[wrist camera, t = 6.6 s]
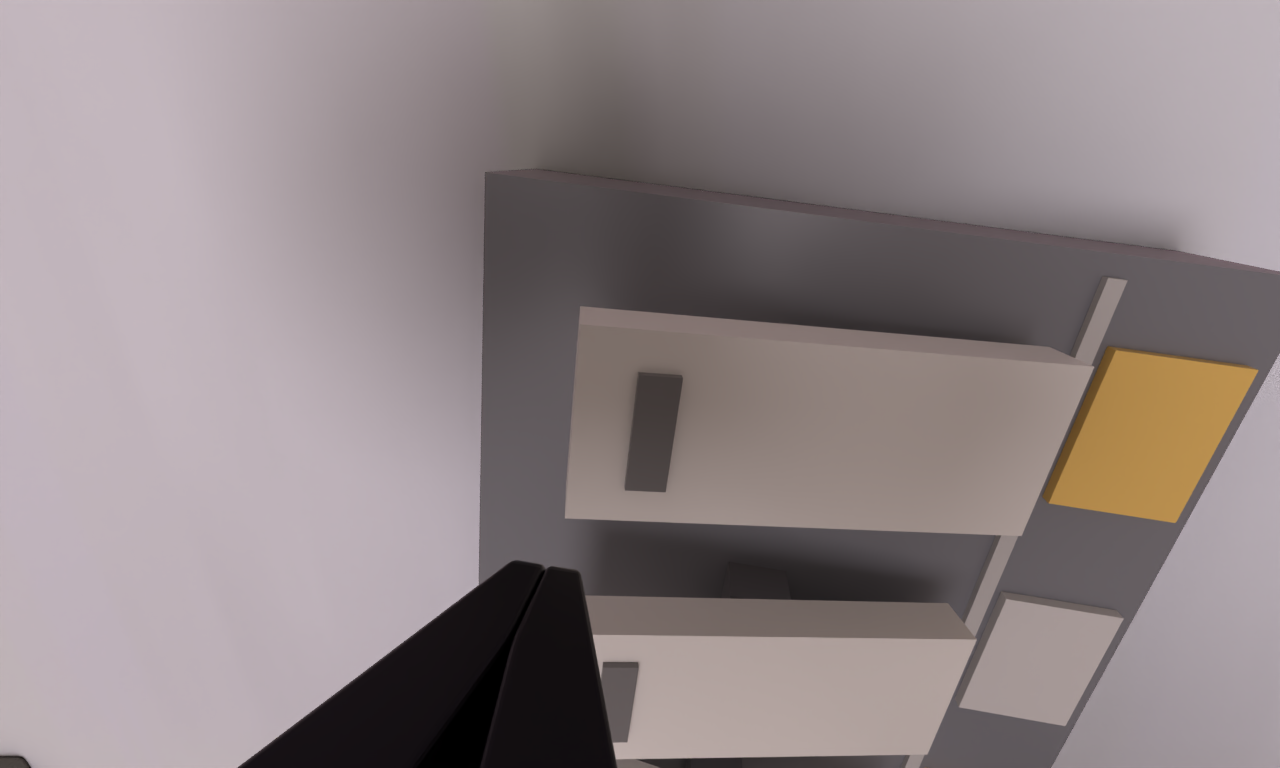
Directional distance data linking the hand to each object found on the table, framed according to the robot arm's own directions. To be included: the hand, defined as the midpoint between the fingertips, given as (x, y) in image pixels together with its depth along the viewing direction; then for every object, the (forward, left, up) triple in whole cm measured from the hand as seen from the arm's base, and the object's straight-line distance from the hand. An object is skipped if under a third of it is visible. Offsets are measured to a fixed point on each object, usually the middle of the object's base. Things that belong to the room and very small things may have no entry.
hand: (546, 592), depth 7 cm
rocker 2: (-4, +7, -6) cm, 10 cm away
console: (-5, +7, -12) cm, 15 cm away
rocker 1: (-4, 0, -6) cm, 7 cm away
